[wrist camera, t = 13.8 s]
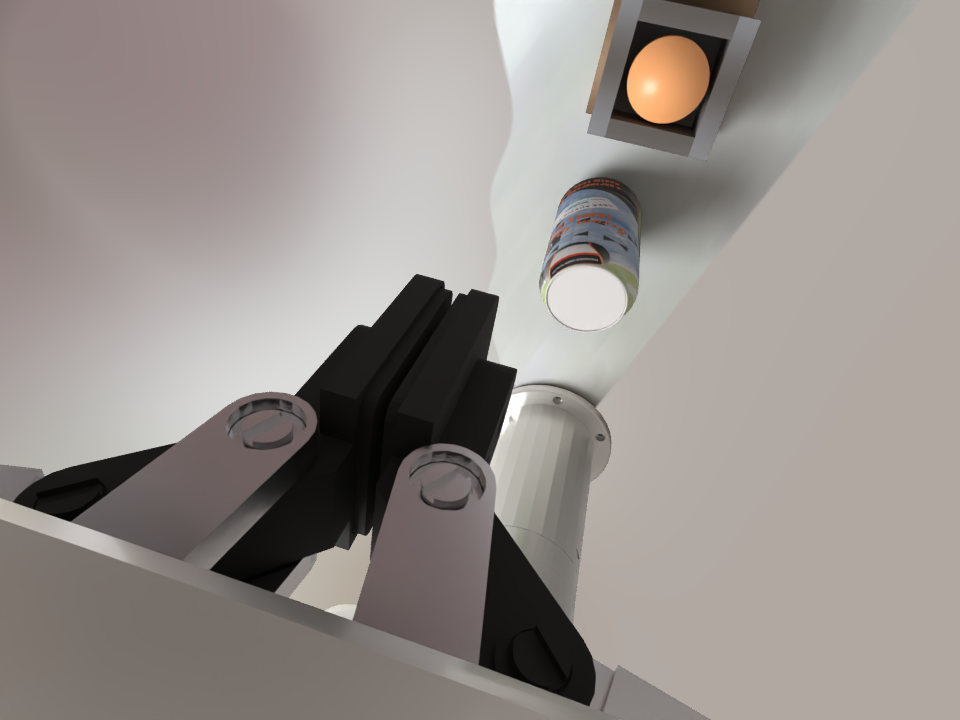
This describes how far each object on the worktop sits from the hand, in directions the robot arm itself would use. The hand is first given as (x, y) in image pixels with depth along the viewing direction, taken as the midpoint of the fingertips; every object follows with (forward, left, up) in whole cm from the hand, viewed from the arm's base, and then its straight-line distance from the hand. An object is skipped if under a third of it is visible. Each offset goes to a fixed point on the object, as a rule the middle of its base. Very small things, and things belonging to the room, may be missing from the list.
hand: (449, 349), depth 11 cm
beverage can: (-8, -3, -33) cm, 34 cm away
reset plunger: (+3, -4, -26) cm, 27 cm away
